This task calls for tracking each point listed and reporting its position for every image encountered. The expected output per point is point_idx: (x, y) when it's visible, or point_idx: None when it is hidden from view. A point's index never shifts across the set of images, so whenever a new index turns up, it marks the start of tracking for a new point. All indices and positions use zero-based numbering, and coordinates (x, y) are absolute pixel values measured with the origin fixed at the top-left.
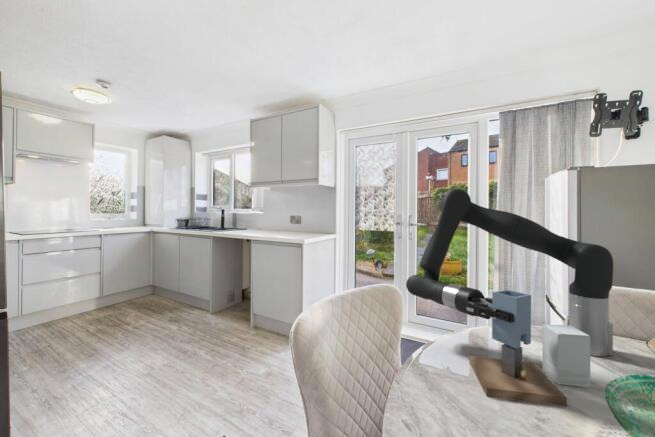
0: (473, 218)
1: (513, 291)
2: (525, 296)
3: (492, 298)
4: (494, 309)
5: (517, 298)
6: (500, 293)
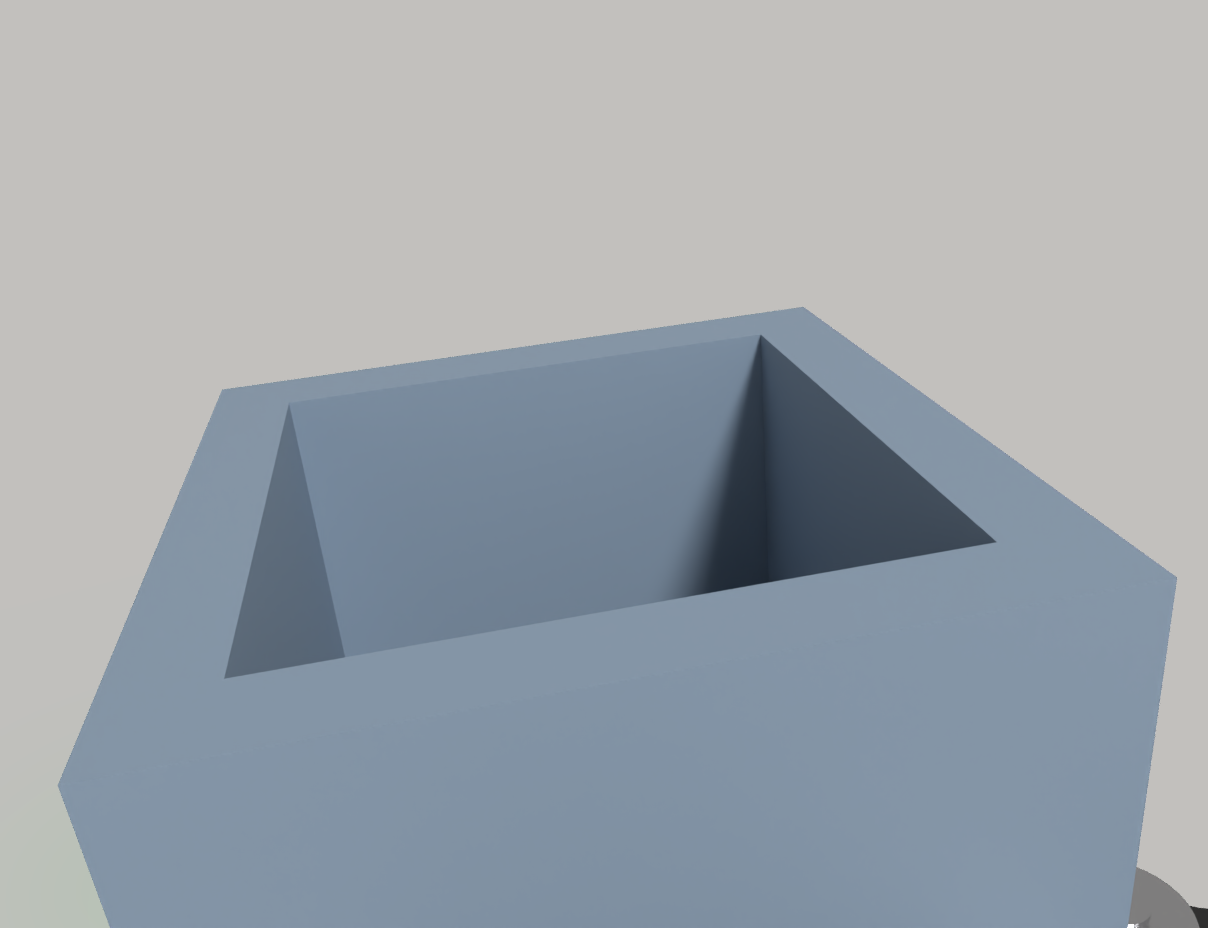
0: None
1: (193, 583)
2: (457, 363)
3: (1140, 803)
4: (1145, 874)
5: (768, 325)
6: (937, 471)
